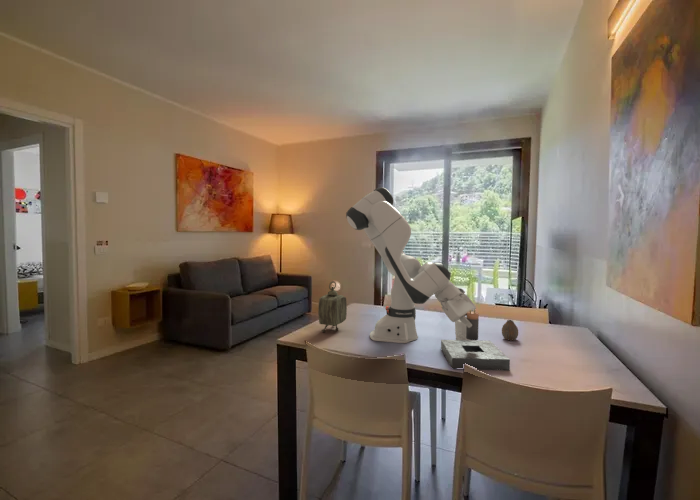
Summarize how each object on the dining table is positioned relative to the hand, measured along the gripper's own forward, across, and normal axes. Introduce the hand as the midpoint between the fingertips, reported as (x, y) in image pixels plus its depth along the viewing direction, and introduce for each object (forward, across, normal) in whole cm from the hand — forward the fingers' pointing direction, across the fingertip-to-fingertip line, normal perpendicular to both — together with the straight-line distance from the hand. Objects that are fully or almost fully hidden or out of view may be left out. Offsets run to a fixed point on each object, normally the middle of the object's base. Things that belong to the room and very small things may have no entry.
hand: (473, 324), depth 124 cm
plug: (+3, 0, +4) cm, 5 cm away
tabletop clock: (-38, -6, +58) cm, 69 cm away
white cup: (+3, +18, +17) cm, 25 cm away
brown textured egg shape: (+13, +35, +6) cm, 38 cm away
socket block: (+9, 0, +10) cm, 14 cm away
